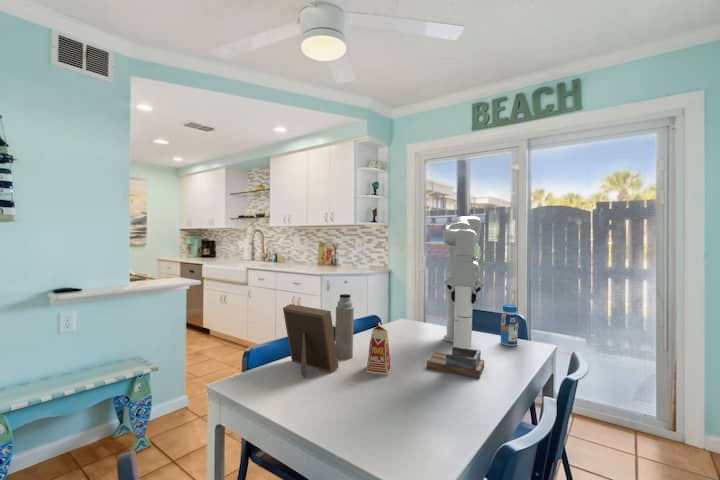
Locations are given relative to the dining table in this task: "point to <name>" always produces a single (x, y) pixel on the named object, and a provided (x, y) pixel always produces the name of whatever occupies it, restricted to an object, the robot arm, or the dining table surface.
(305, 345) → the photo frame
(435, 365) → the dock
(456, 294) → the cylindrical container
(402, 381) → the dining table surface
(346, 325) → the thermos bottle
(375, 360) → the milk carton
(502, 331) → the beverage bottle
